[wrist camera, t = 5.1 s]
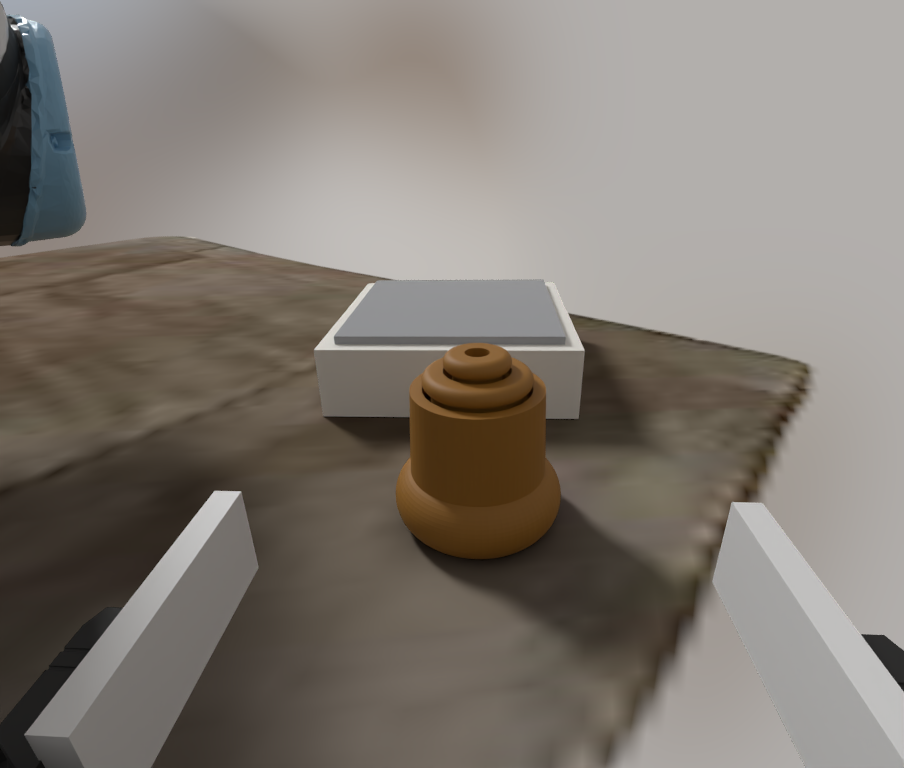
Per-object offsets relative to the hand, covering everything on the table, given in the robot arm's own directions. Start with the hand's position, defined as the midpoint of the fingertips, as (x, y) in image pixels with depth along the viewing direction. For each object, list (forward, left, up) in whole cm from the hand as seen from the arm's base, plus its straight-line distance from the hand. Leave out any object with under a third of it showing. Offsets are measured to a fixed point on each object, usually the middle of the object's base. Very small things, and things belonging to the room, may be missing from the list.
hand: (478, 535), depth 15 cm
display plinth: (-2, +26, -6) cm, 26 cm away
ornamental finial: (0, +9, -6) cm, 11 cm away
